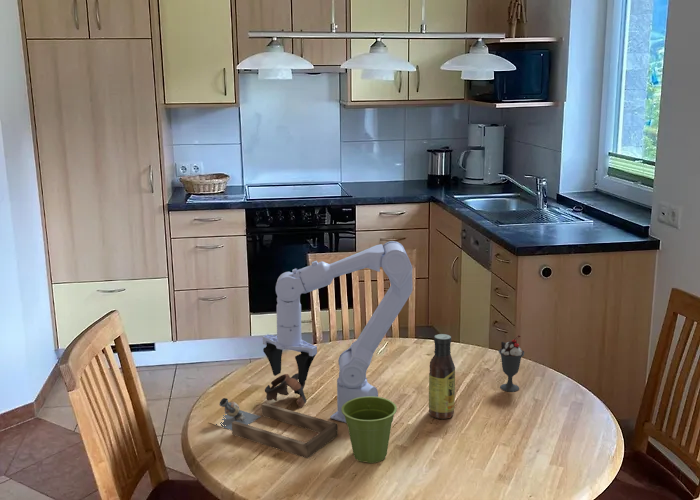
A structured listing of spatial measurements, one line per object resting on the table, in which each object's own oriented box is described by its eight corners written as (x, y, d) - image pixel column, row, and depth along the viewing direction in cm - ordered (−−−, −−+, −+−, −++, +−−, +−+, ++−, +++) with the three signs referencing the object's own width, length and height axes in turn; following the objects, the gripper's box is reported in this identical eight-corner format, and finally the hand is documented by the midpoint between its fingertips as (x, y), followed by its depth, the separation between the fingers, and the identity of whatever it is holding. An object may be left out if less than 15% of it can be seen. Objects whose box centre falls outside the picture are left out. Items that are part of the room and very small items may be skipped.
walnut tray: (337, 435, 167) (337, 423, 166) (307, 458, 157) (307, 445, 156) (264, 414, 178) (264, 403, 177) (232, 434, 168) (231, 422, 167)
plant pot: (364, 437, 166) (364, 391, 163) (407, 453, 159) (407, 405, 156) (330, 457, 157) (330, 409, 154) (374, 476, 150) (374, 425, 147)
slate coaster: (261, 417, 177) (261, 416, 176) (236, 432, 169) (236, 431, 169) (232, 409, 181) (232, 407, 181) (207, 423, 174) (207, 422, 174)
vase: (224, 427, 171) (222, 403, 170) (217, 420, 176) (215, 396, 175) (246, 422, 173) (244, 398, 172) (238, 414, 178) (236, 391, 177)
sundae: (525, 393, 188) (528, 338, 184) (499, 393, 188) (501, 338, 184) (520, 382, 194) (522, 329, 191) (494, 382, 194) (496, 329, 191)
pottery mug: (297, 415, 178) (279, 389, 176) (272, 422, 184) (254, 396, 182) (321, 386, 187) (304, 360, 186) (296, 393, 193) (279, 368, 191)
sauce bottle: (453, 421, 173) (455, 342, 168) (427, 419, 174) (428, 341, 170) (455, 409, 179) (457, 333, 175) (429, 407, 180) (430, 331, 176)
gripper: (254, 322, 171) (255, 376, 174) (304, 334, 163) (304, 390, 166) (272, 314, 176) (273, 367, 180) (322, 325, 169) (322, 379, 172)
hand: (289, 377), depth 173 cm, fingers open, 7 cm apart
